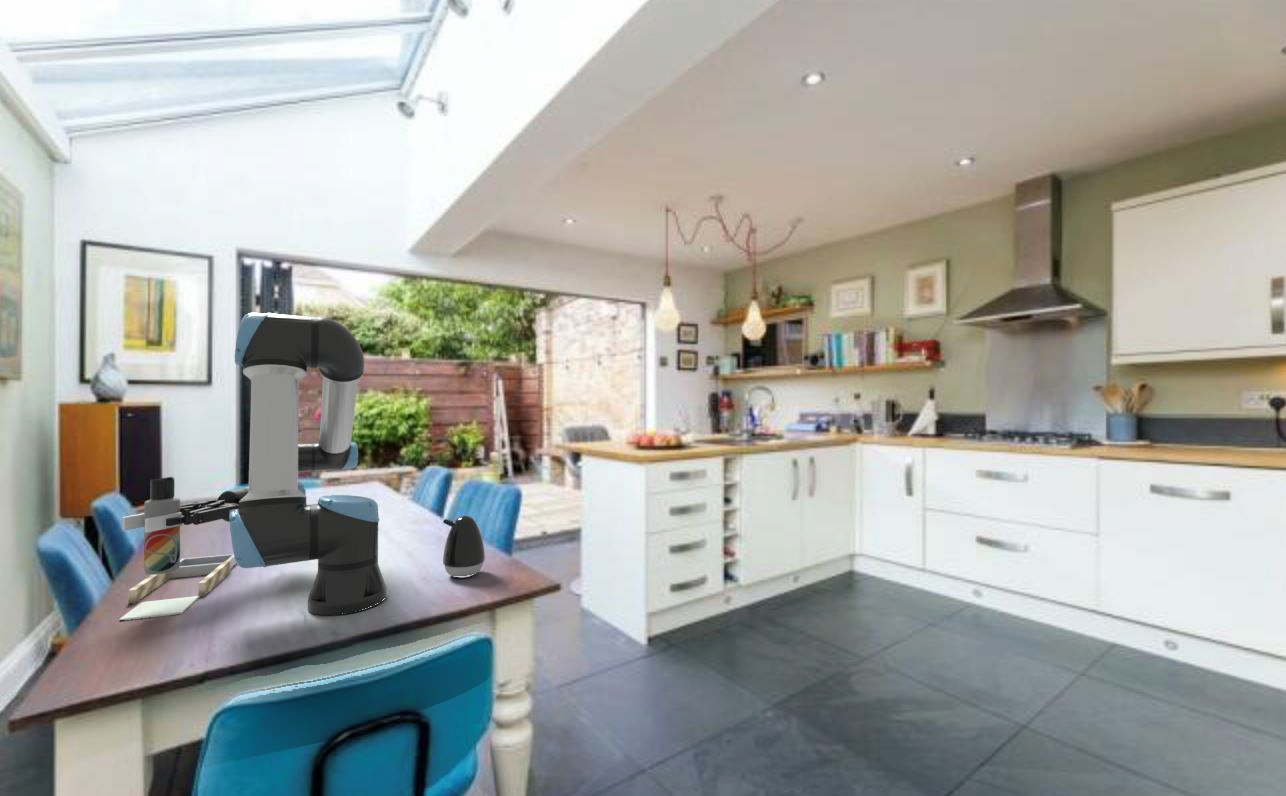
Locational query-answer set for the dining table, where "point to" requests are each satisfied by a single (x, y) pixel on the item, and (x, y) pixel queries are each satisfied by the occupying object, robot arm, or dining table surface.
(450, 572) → the pump dispenser
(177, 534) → the lotion bottle
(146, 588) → the oak channel
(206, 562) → the pit bin
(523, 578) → the dining table surface
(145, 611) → the pad
